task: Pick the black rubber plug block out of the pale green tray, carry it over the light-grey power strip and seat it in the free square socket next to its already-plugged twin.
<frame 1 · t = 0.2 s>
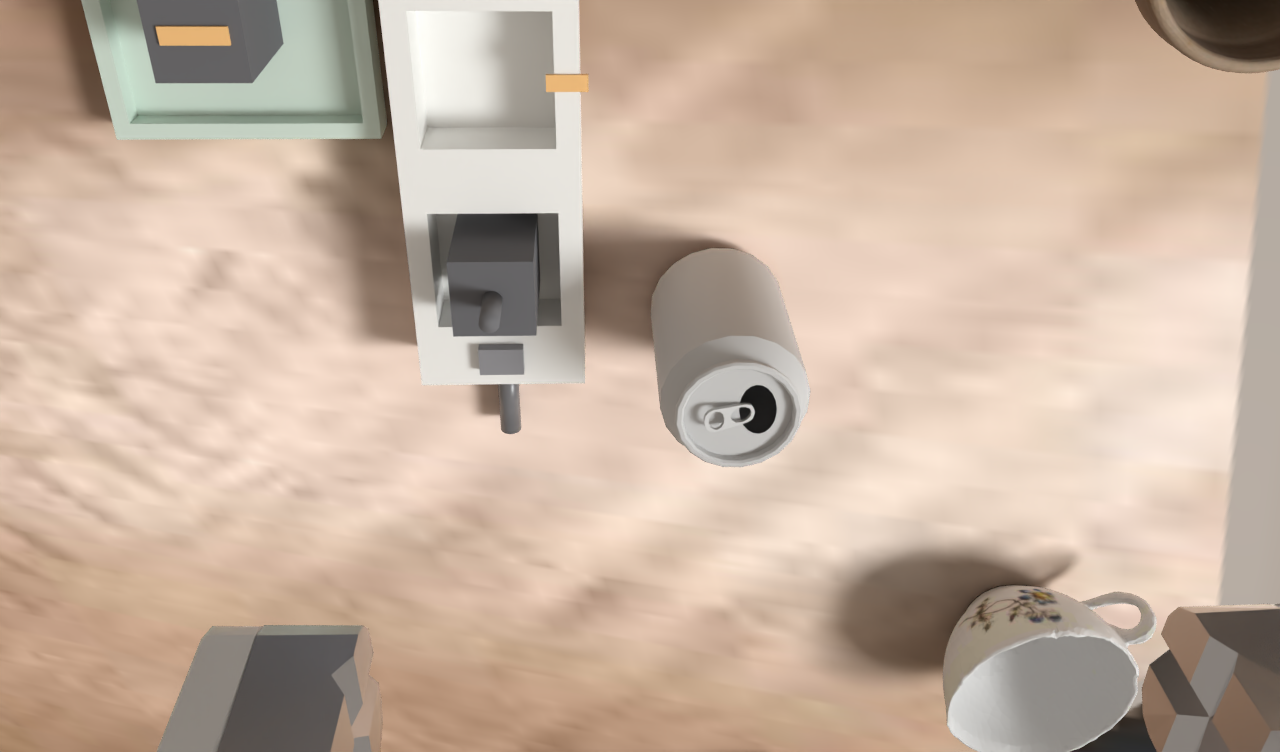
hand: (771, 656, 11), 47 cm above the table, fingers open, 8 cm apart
twin plug: (500, 246, 60), point 1 cm above the table, touching pdu strip
can: (714, 297, 64), on the table
pdu strip: (496, 151, 58), on the table
teacup: (1019, 603, 78), on the table
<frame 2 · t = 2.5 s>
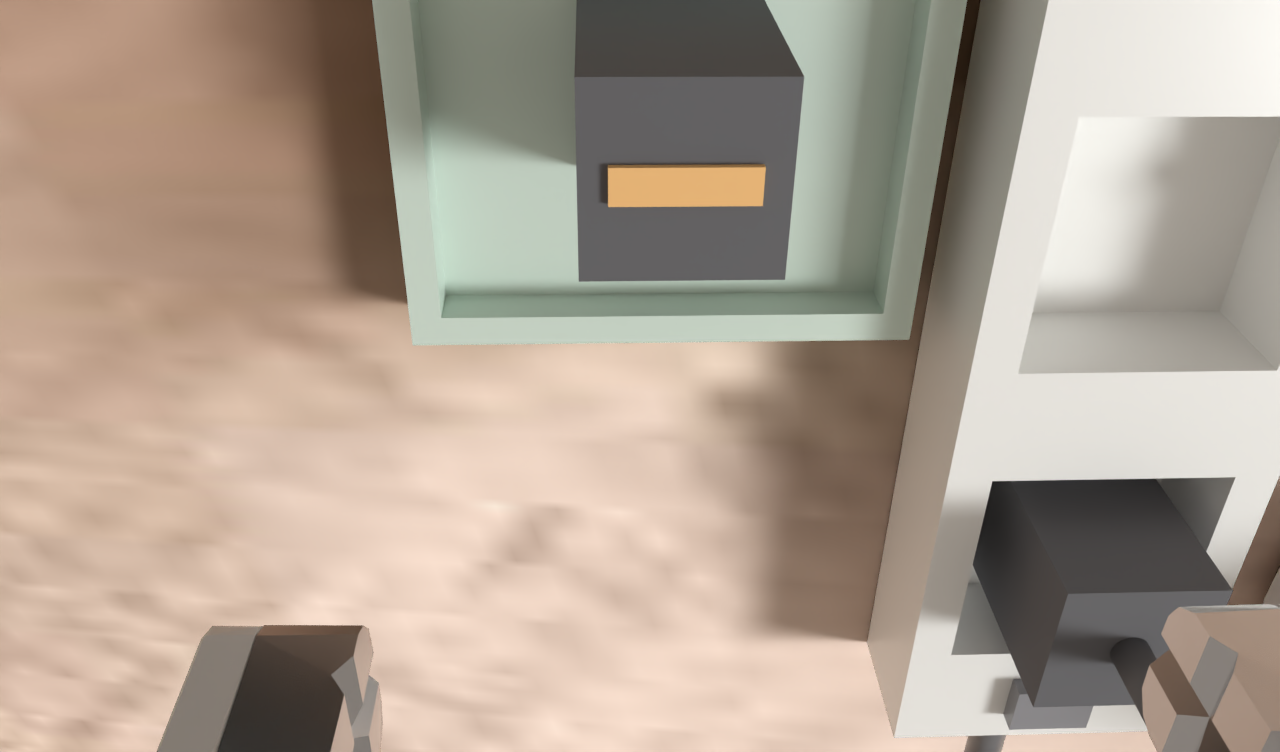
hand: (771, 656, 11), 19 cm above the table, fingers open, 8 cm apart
twin plug: (1048, 502, 34), point 1 cm above the table, touching pdu strip
pdu strip: (1073, 346, 32), on the table
tray: (664, 72, 27), on the table
plug: (666, 83, 26), point 1 cm above the table, touching tray
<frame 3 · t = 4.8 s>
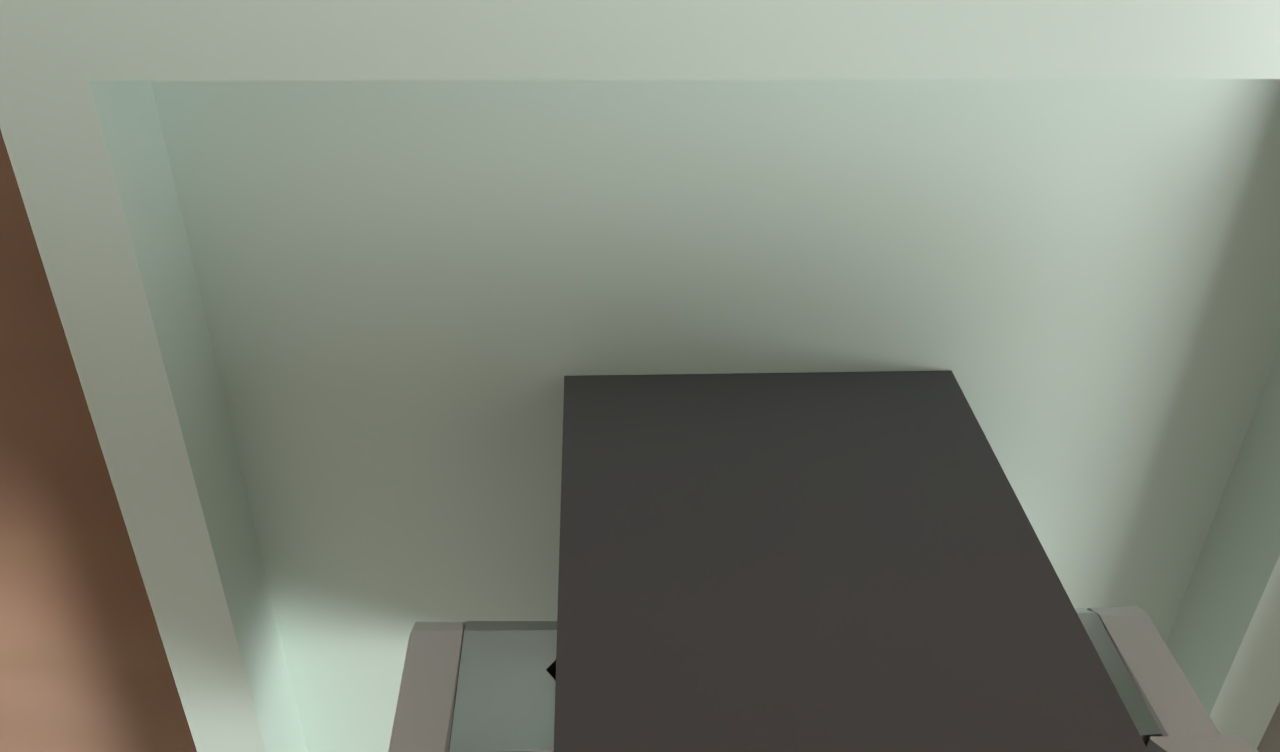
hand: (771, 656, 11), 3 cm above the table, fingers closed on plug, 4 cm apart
tray: (736, 480, 14), on the table
plug: (746, 522, 13), point 1 cm above the table, touching gripper, tray
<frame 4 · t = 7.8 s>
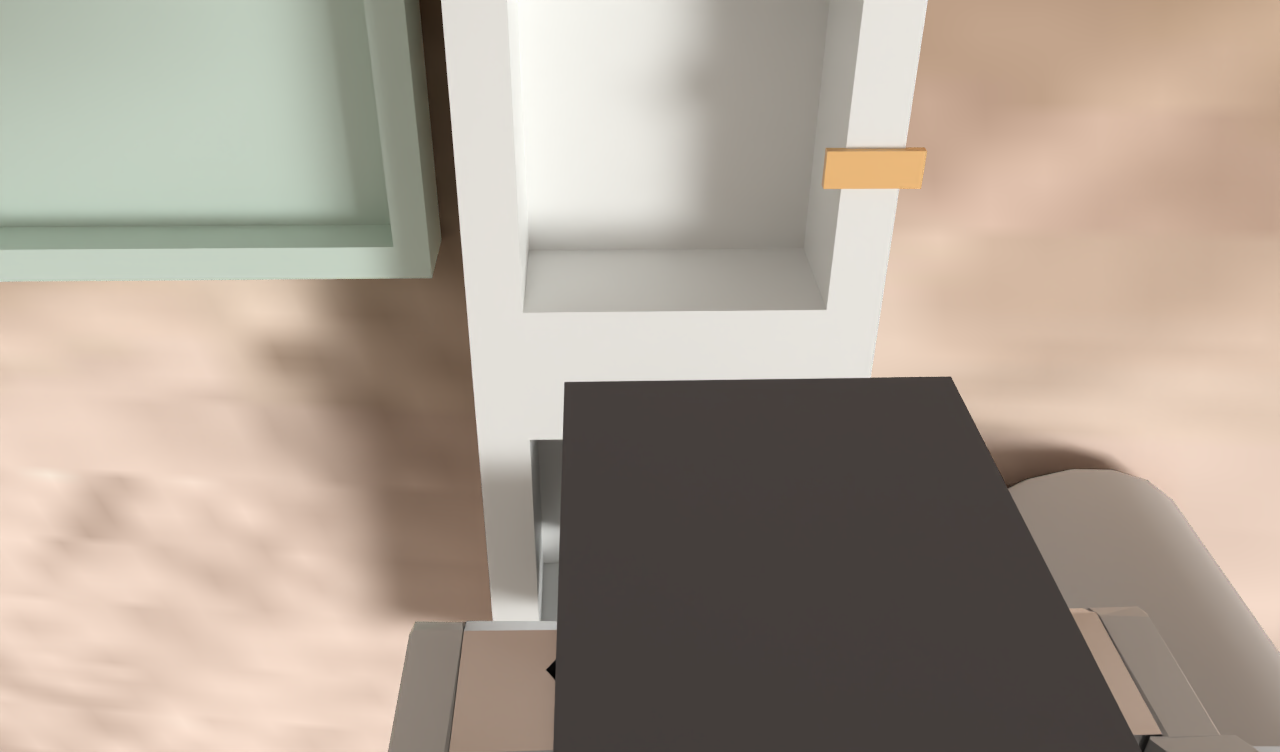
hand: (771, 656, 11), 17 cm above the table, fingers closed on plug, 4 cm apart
can: (1046, 543, 34), on the table
pdu strip: (662, 291, 28), on the table
plug: (746, 527, 13), point 15 cm above the table, touching gripper
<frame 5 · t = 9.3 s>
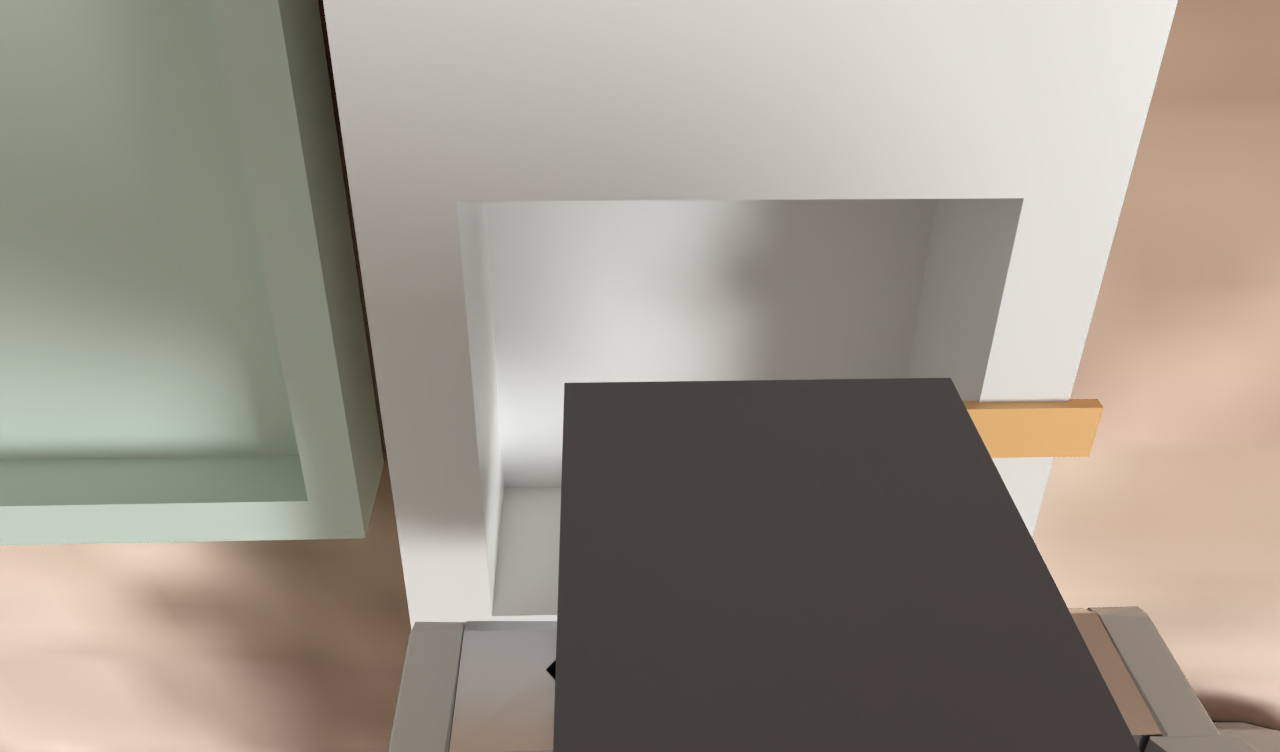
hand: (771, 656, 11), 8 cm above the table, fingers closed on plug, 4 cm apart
pdu strip: (689, 522, 21), on the table
plug: (746, 528, 13), point 6 cm above the table, touching gripper
when the fingers open (5 cm above the table, at t = 10.6 s): plug drops 1 cm, resting on pdu strip.
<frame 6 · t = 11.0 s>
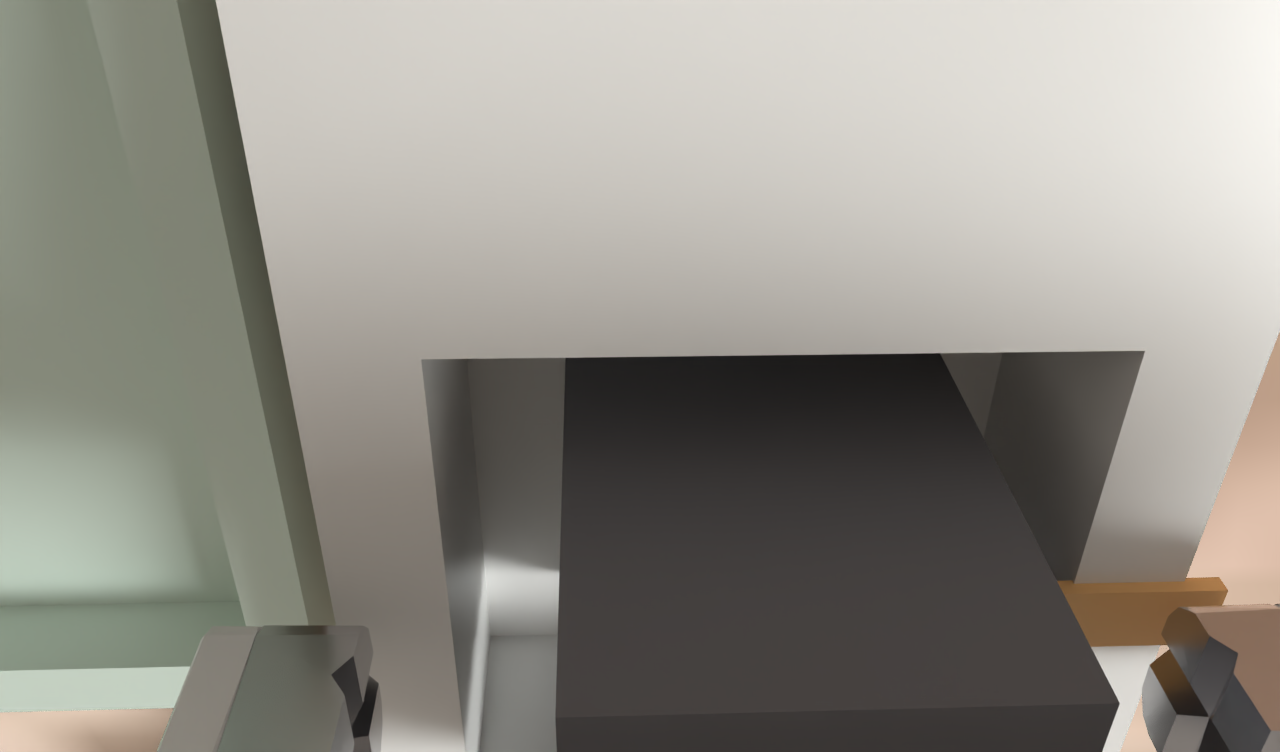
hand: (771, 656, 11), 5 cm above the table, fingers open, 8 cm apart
pdu strip: (706, 660, 18), on the table
plug: (732, 450, 14), point 1 cm above the table, touching pdu strip
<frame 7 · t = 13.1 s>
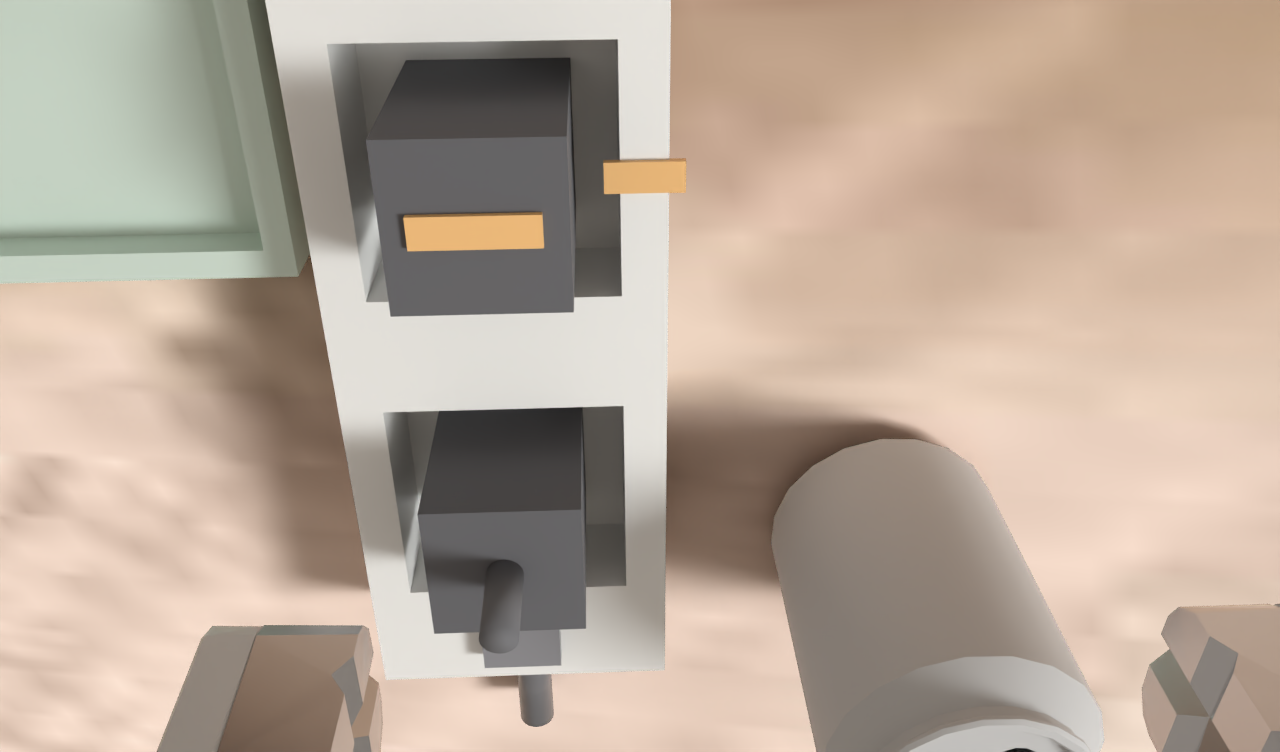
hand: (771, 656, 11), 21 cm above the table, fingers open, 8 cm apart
twin plug: (517, 444, 35), point 1 cm above the table, touching pdu strip
can: (874, 509, 38), on the table
pdu strip: (508, 287, 33), on the table
tray: (17, 19, 28), on the table
plug: (494, 137, 29), point 1 cm above the table, touching pdu strip
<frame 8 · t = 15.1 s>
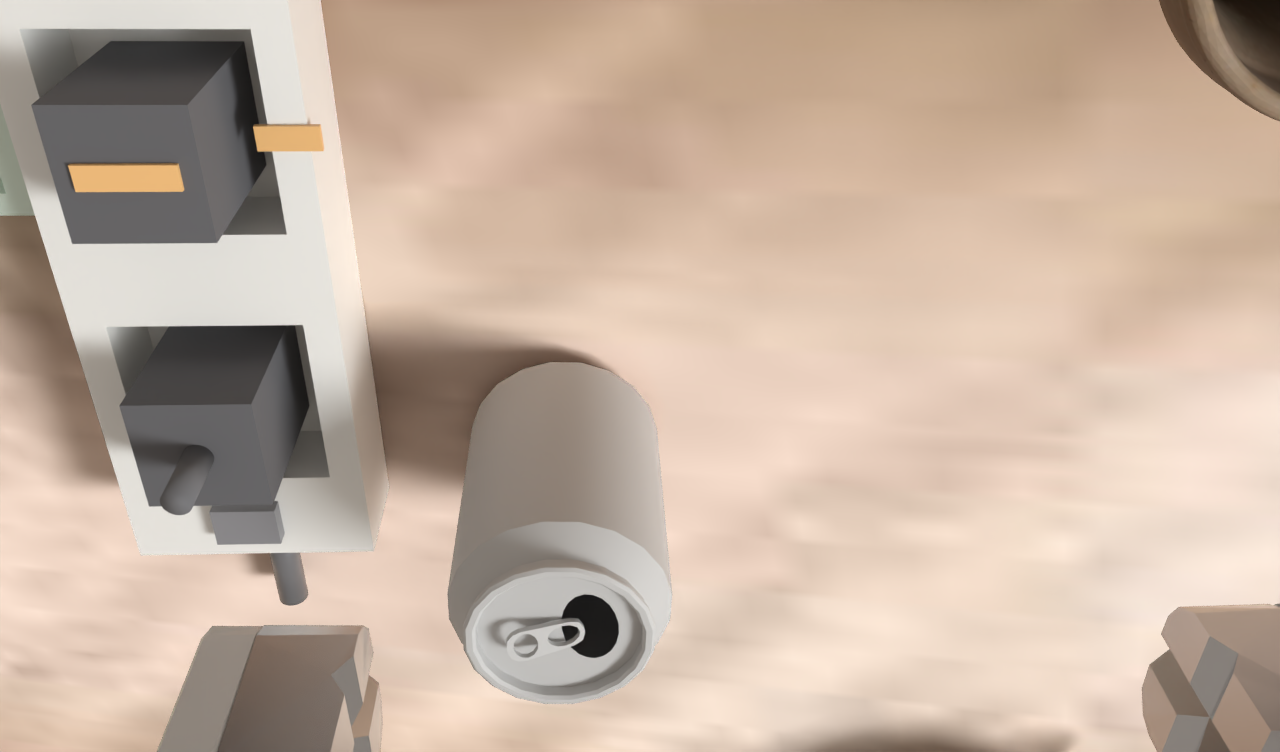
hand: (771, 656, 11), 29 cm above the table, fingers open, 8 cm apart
twin plug: (245, 360, 42), point 1 cm above the table, touching pdu strip
can: (565, 423, 45), on the table
pdu strip: (227, 229, 40), on the table
plug: (191, 105, 36), point 1 cm above the table, touching pdu strip
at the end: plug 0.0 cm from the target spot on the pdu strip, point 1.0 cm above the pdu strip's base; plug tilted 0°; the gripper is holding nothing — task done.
